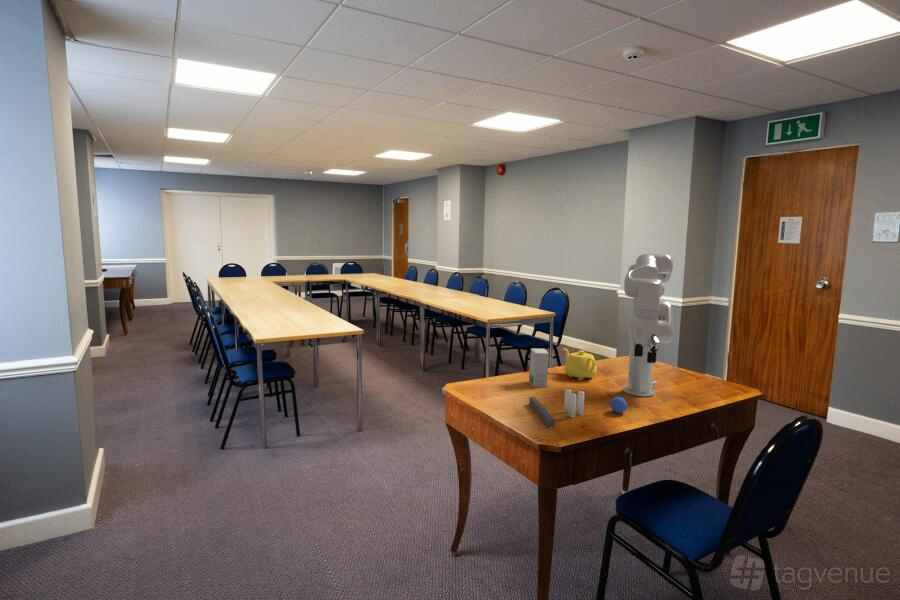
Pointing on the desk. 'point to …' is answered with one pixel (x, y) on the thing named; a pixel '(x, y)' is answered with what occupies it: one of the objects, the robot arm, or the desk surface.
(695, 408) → the desk surface
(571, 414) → the back left pin
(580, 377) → the teapot
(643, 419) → the desk surface
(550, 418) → the bar
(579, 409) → the front pin
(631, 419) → the desk surface
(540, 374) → the skincare box
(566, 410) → the back right pin
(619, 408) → the ball
